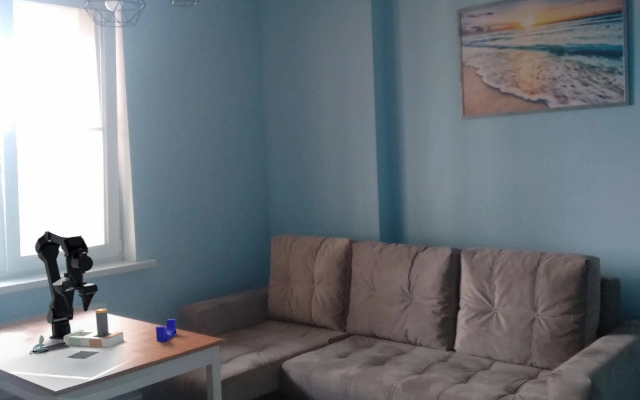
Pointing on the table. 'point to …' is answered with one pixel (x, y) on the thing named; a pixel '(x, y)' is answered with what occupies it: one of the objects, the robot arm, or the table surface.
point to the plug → (102, 322)
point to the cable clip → (166, 331)
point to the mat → (82, 354)
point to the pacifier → (39, 346)
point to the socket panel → (93, 338)
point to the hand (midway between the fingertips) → (77, 310)
